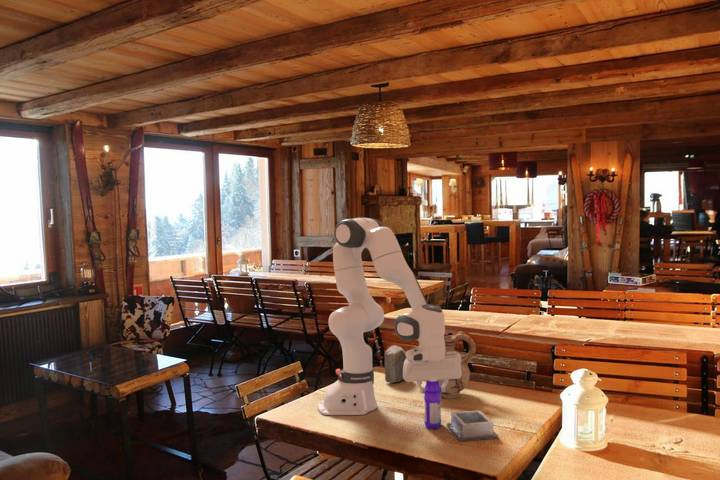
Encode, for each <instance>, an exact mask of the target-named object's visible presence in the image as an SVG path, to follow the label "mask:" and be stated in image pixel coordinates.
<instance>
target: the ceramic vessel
mask: <svg viewBox="0 0 720 480" xmlns="http://www.w3.org/2000/svg"><path fill="white" fill-rule="evenodd" d="M460 340H462V341H464V342H466V343H467V345H468V346H469V351H468V353H467V354H466V356H465V358H463V359H461V363H460V364H461V371H462V376H461V377H460V379H448V384H447V386H446V387H445V392H440V394H441V397H442V398H445V399H456V398H460V394H461V392H462V391H464V390H465V388H467V386H468V384H469V381H470V376H471V372H470V371H471V370H470V368H469V365H468V364H469V363H471V361H472V360H473V358H474V356H475V355H476V350H477V347H476V346H477V345H476V343H475V341H474V339H473V338H472V337H471V336H470V335H467V334H465V333H456V334H453V335H451V334H449V335H444V341H445V352H453V351H456V349H455V346H456V344H457V342H459V341H460ZM438 382H439V386H442V384H443V382H444V381H443V380H438Z"/></svg>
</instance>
